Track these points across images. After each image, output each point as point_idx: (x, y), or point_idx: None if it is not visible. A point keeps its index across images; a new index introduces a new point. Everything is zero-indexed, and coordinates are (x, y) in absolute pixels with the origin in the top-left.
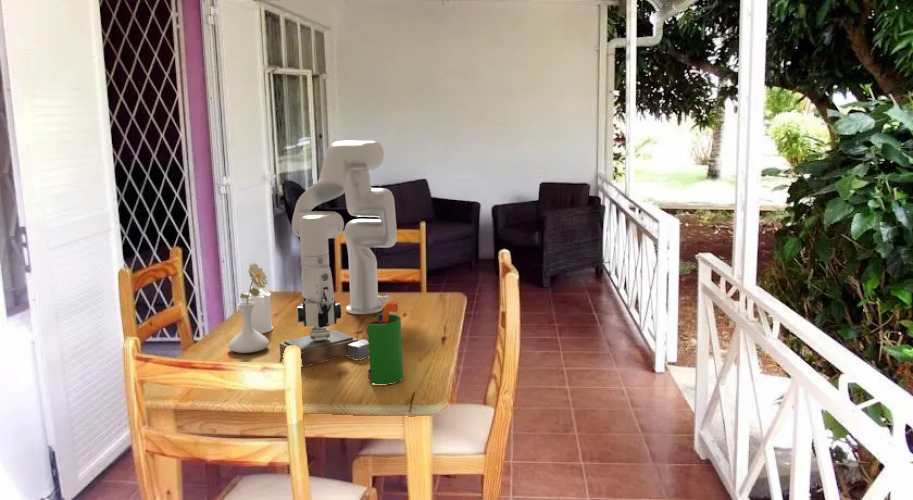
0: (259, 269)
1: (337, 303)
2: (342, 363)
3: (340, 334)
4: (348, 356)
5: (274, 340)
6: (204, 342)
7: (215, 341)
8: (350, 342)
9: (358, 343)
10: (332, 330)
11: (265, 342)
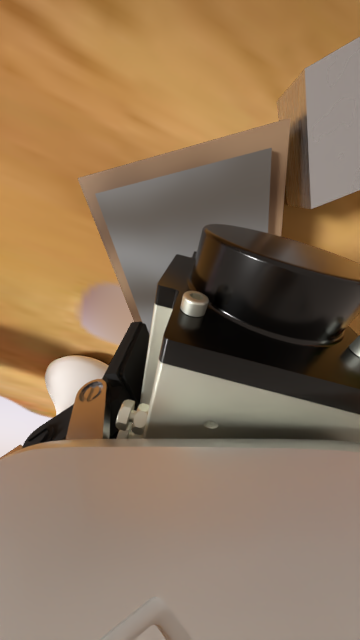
0: None
1: (314, 309)
2: (318, 247)
3: (183, 195)
4: (289, 205)
5: (34, 326)
6: (31, 406)
7: (27, 396)
8: (283, 179)
9: (344, 146)
10: (103, 207)
11: (102, 373)
